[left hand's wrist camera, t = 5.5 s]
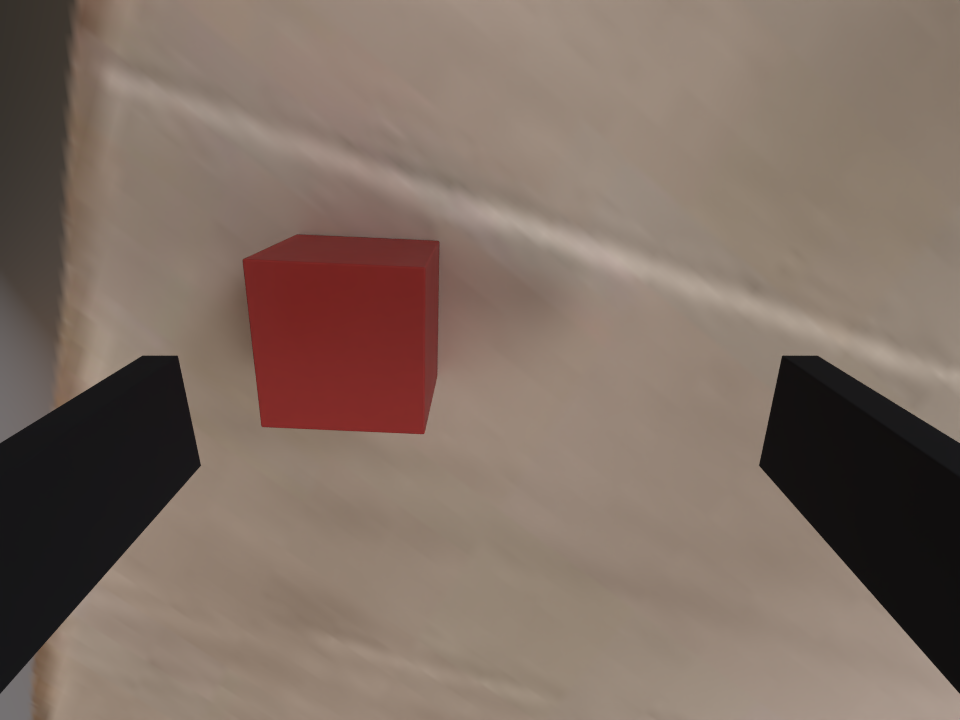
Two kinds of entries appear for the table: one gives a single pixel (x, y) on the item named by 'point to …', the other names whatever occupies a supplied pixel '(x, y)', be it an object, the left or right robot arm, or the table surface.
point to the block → (345, 332)
